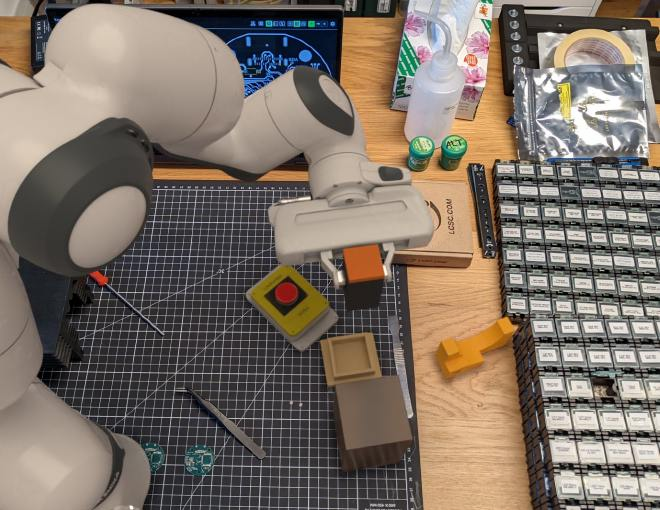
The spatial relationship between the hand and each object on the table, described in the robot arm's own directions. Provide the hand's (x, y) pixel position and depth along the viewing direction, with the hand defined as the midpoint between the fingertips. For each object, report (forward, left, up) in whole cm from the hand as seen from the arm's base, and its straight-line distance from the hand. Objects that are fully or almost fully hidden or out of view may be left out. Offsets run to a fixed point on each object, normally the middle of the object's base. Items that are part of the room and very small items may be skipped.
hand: (363, 283), depth 75 cm
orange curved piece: (+17, -12, -32) cm, 38 cm away
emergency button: (0, +15, -32) cm, 35 cm away
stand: (-6, -10, -32) cm, 34 cm away
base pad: (+1, +1, -32) cm, 32 cm away
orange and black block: (0, +1, -5) cm, 5 cm away
